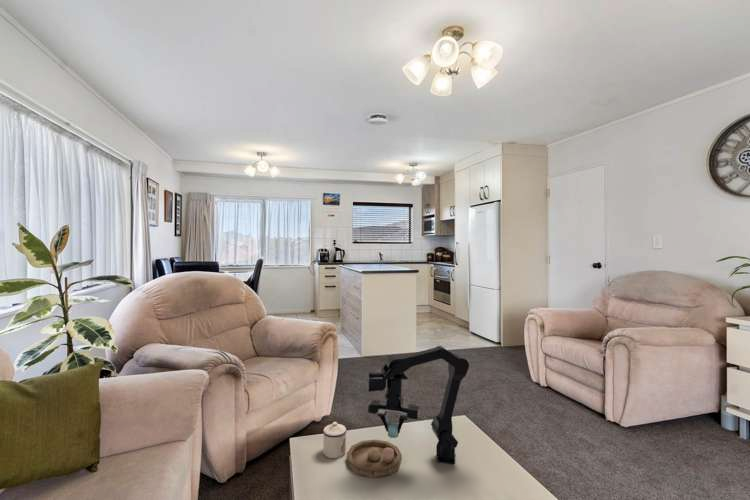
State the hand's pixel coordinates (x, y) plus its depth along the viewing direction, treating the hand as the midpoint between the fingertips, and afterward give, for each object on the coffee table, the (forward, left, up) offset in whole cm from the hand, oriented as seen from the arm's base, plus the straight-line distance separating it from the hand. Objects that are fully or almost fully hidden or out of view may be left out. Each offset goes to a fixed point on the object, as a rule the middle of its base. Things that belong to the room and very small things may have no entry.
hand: (393, 432), depth 132 cm
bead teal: (0, 0, -1) cm, 1 cm away
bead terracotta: (+1, +1, -11) cm, 11 cm away
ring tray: (+7, +1, -11) cm, 13 cm away
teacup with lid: (+24, -1, -12) cm, 27 cm away
